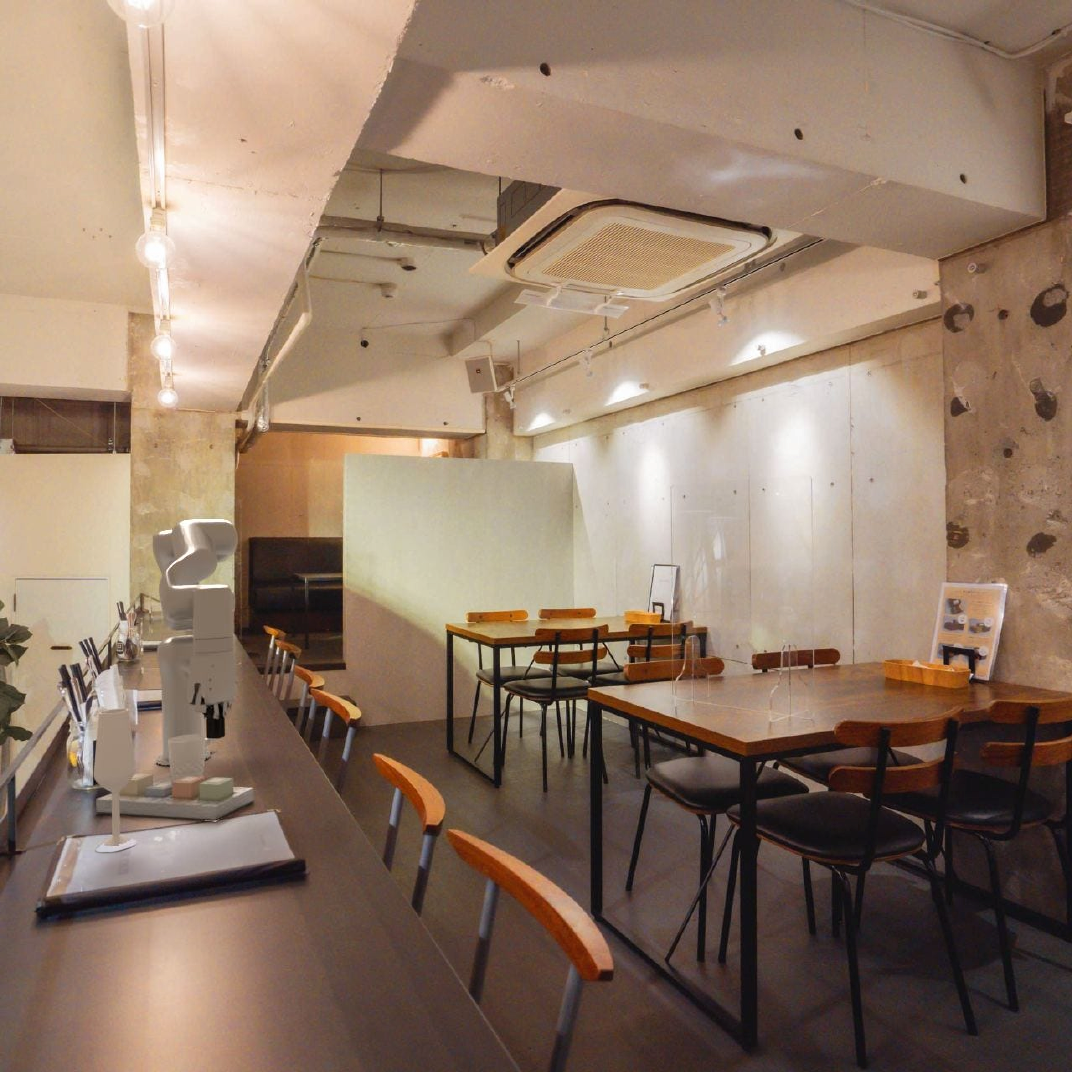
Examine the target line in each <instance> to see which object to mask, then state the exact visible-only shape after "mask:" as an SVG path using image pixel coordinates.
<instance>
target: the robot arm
mask: <svg viewBox="0 0 1072 1072" xmlns="http://www.w3.org/2000/svg"><path fill="white" fill-rule="evenodd" d="M238 543H239V538H238V532H237V529H236V526H235V525H234V524H233V523H232V522H231V521H229V520H225V519H188V520H187V519H185V520H183V521H180V522H178V523H176V524H175V525H174V527H173V528H172V529H167V530H161V531H159V532H157V533H155V534H154V535H153V538H152V552H153V556H154V560H155V562H156V564H157V566H158V568H159V570H160V573H161V577H160V580H159V585H158V586H159V587H158V593H159V600H160V606H161V607H160V608H161V611H162V615H163V623H164V627H165V628H166V629H167V630H169V631H173V632H192V633H193V634H188V635H186V634H185V635H176V636H171V637H167V638H165V639H163V640H161V642H159V644H158V646H157V649H156V657H157V662H158V663H157V664H158V668H159V669H158V670H159V674H160V675H159V676H160V686H161V687H160V688H161V718H162V719H161V722H162V723H161V724H162V728H161V729H162V731H161V732H162V754H160V755H158V756H157V757H156V759H155V762H156V764H157V763H158V765H159V764H161V765H160V766H167V765H170V763H169V750H168V740H169V739H171V738H173V737H177V736H182V735H191V734H200V735H204V720H205V731H206V735H205V760H207V759H209V758H210V757H211V751H210V750H208V749H206V747H207V746H209V745H211V744H213V743H215V739H217V740H218V739H221V738H224V737H225V736H226V721H225V719H226V718H225V717H226V716H227V714H228V708H229V707H230V706H231V705H232V704H234V703H235V697H237V695H238V690H239V689H238V688H239V687H238V683H239V682H238V669H237V662H236V656H235V655H236V654H235V649H234V615H233V614H234V613H233V612H234V610H235V608H236V596H235V592H234V591H233V590H232V588H231V587H230V586H229V585H227V584H224V583H223V584H222V583H216V584H215V583H214V584H213V583H211V584H200V583H201V582H202V581H204V580H206V579H208V578H209V577H211V576H213V574H214V572H215V571H216V570H217V567H218V563H223V562H226V561H227V560H229V559H230V558H231V557H232V556H233V555H234V554H235V552H236V550H237V548H238ZM206 758H207V759H206Z"/></svg>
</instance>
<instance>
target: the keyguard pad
mask: <svg viewBox="0 0 1072 1072" xmlns="http://www.w3.org/2000/svg"><path fill="white" fill-rule="evenodd" d="M157 783H158V782H153V785H155V784H157ZM95 803H96V804H95V805H96V815H103V816H112V792H110V793H109V794H105V795H103V796H101V797H98V798H96V801H95ZM253 803H254V788H253V787H241V786H233V795H231V796H229V797H227V798H225V799H223V800H220V801H213V800H200V796H198V797H195V798H193V799H179V798H172V794H171V795H169V796H167V797H164V798H162V797H145V793H143V794H141V795H139V796H129V795H119V814H120V817H130V818H133V817H134V818H135V817H136V818H147V819H148V818H149V819H159V820H160V819H161V820H174V821H175V820H176V821H190V822H191V821H193V822H205V820H218V819H221V818H223V819H225V818H226V817H229V816H231V815H232V814H234V813H236V812H238V811H240V810H242V809H244V808H246V807H247V806H249V805H252V804H253ZM224 817H225V818H224ZM221 820H222V819H221Z"/></svg>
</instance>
